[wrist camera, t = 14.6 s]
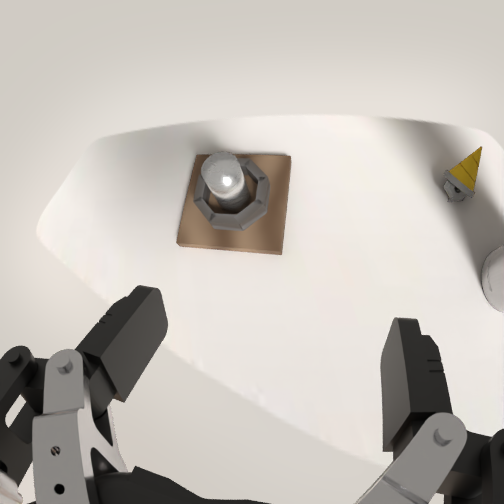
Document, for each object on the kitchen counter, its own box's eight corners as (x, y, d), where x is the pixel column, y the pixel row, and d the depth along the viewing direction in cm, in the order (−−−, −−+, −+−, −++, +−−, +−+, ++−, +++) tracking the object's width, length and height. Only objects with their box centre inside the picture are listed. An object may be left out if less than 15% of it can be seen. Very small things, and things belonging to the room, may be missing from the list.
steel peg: (252, 184, 42) (241, 151, 34) (249, 213, 41) (236, 184, 33) (221, 184, 43) (204, 152, 35) (216, 213, 42) (198, 185, 34)
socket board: (291, 161, 44) (289, 145, 40) (281, 254, 40) (279, 245, 36) (199, 159, 47) (191, 145, 43) (180, 246, 43) (168, 236, 39)
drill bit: (428, 185, 40) (460, 131, 34) (450, 200, 41) (482, 149, 35) (444, 203, 35) (481, 143, 30) (466, 218, 36) (502, 163, 31)
